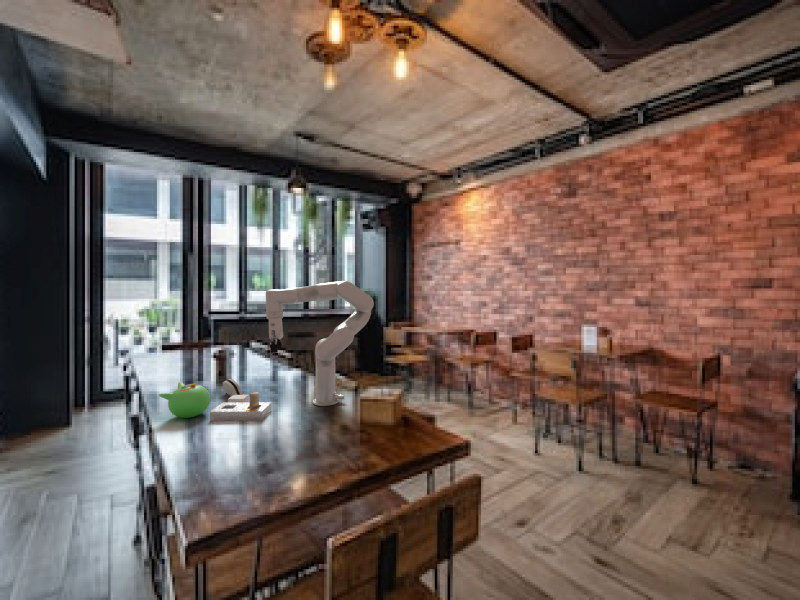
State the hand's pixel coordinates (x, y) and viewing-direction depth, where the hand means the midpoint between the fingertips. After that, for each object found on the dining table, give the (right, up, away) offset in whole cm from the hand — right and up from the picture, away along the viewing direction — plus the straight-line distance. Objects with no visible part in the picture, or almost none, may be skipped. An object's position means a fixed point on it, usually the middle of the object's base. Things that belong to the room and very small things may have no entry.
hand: (276, 351), depth 199 cm
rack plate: (-11, -27, -15) cm, 33 cm away
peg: (-5, -27, -15) cm, 31 cm away
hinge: (-28, -26, +18) cm, 42 cm away
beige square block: (-17, -26, -2) cm, 32 cm away
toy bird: (-34, -27, -16) cm, 46 cm away
